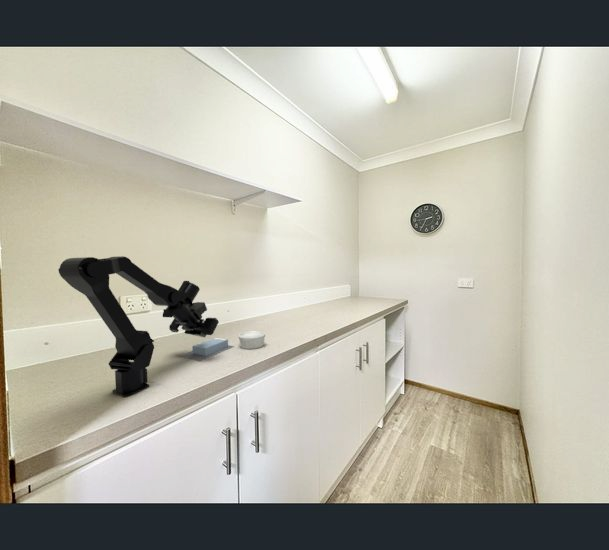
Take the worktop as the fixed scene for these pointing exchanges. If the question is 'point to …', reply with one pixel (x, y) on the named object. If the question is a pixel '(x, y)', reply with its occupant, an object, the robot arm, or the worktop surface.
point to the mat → (201, 357)
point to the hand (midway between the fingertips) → (204, 336)
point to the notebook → (210, 346)
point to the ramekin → (251, 339)
